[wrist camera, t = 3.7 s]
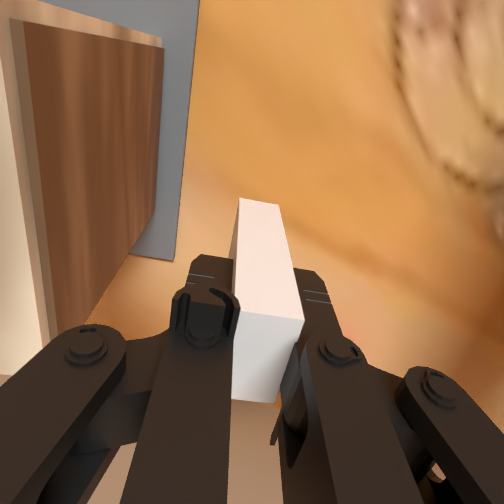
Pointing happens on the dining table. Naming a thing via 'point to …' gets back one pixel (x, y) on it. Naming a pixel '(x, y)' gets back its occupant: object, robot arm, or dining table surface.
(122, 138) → the brown wooden block
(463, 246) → the dining table surface
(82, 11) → the mat
